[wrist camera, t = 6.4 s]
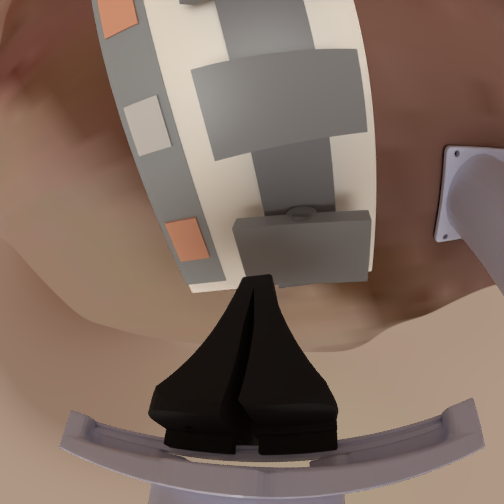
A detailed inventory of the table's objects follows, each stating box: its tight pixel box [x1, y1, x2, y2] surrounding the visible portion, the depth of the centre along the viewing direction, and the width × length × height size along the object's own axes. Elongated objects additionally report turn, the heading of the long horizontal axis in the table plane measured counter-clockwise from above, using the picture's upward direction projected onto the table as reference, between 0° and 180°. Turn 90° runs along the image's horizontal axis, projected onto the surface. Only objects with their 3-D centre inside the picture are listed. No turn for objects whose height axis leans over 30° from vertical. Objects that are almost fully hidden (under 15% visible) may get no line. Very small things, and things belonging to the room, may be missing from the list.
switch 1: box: [191, 49, 368, 161], centre depth 10 cm, size 7×4×2 cm, turn 102°
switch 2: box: [232, 206, 372, 285], centre depth 15 cm, size 7×4×2 cm, turn 101°
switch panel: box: [92, 0, 376, 293], centre depth 13 cm, size 14×26×3 cm, turn 12°
